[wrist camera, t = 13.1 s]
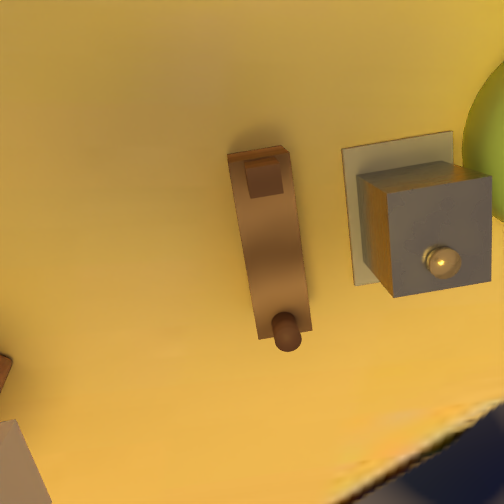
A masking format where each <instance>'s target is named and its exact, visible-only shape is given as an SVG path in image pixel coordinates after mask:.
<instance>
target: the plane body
mask: <svg viewBox="0 0 504 504" xmlns="http://www.w3.org/2000/svg"><path fill="white" fill-rule="evenodd" d="M227 157H228V166H229V172H230V177H231V183H232V189H233V195H234V200H235V206H236V212H237V218H238V224H239V229H240V235H241V241H242V247H243V252H244V258H245V264H246V270H247V275H248V281H249V287H250V293H251V299H252V304H253V310H254V316H255V322H256V327H257V333H258V339H265V338H271V337H274V339H275V344H276V346H277V347H278V348H279V349H280V350H282V351H285V352H290V351H294V350H295V349H297V348H298V347H299V346H300V344H301V340H302V339H301V334H300V332H306V331H312V323H311V315H310V308H309V300H308V292H307V285H306V277H305V269H304V261H303V254H302V246H301V238H300V231H299V223H298V215H297V208H296V200H295V192H294V184H293V177H292V169H291V161H290V154H289V152H288V151H287V150H286V149H285V148H283V147H282V146H281V145H280V146H275V147H269V148H263V149H257V150H251V151H245V152H239V153H233V154H227Z"/></svg>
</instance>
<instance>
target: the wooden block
mask: <svg viewBox="0 0 504 504" xmlns="http://www.w3.org/2000/svg"><path fill="white" fill-rule="evenodd" d="M10 368H11V360H10V359H9V358H7V357H4V356H2V355H0V392H1V389H2V387H3V385H4V382H5V380H6V377H7V375H8V373H9V370H10Z"/></svg>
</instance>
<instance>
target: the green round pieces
mask: <svg viewBox="0 0 504 504" xmlns="http://www.w3.org/2000/svg"><path fill="white" fill-rule="evenodd" d="M462 159H463V167H464V168H468V169H471V170H474V171H478V172H481V173H484V174H487V175H491V176H492V215H493V216H494V217H496V218H497V219H499V220H500V221H502V222H504V62H503V63H502V64H501V65H500V66H499V67H498V68H497V69H496V70H495V71H494V72H493V73H492V74H491V75H490V77H489V78H488V79H487V81H486V82H485V84H484V85H483V87H482V88H481V89H480V91H479V92H478V94H477V96H476V99H475V101H474V103H473V105H472V107H471V109H470V111H469V114H468V118H467V121H466V125H465V128H464V133H463V143H462Z"/></svg>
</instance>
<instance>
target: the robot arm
mask: <svg viewBox="0 0 504 504" xmlns="http://www.w3.org/2000/svg"><path fill="white" fill-rule="evenodd" d="M51 503H52V501H51V498H50V496H49V494H48V492H47V489H46V487H45V485H44V482H43V480H42V478H41V476H40V473H39V471H38V469H37V467H36V464H35V462H34V460H33V457H32V455H31V453H30V451H29V448H28V446H27V444H26V441H25V439H24V437H23V435H22V432H21V430H20V428H19V426H18V423H17V421H16V419H14V420H9V421H4V422H0V504H51Z"/></svg>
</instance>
